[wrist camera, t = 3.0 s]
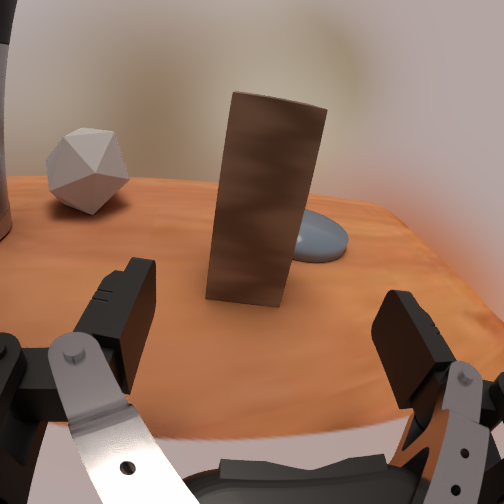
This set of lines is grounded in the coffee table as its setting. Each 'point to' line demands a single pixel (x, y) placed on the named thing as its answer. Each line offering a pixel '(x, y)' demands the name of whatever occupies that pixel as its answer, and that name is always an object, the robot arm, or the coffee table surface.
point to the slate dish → (319, 239)
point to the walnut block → (261, 196)
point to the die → (86, 169)
